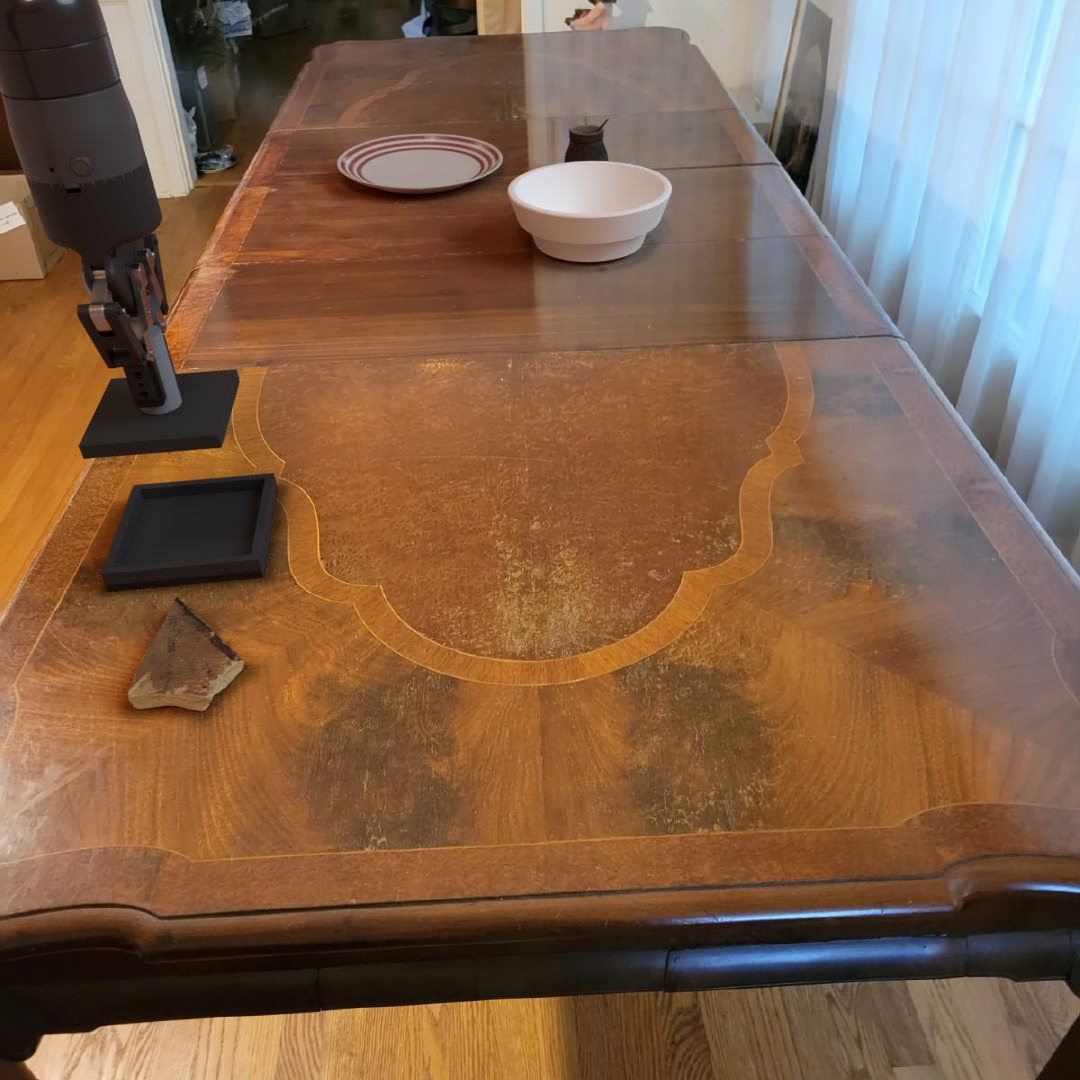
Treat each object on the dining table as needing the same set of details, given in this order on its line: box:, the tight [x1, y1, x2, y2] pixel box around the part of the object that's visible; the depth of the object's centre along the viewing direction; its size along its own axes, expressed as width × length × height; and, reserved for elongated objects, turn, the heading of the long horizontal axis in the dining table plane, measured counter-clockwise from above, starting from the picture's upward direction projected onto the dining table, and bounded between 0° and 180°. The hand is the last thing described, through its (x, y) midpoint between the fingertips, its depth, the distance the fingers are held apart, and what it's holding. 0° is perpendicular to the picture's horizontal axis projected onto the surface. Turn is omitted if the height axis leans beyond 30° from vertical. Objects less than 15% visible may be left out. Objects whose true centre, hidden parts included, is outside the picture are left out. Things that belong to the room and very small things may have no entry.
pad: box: [78, 325, 241, 460], centre depth 73 cm, size 10×10×7 cm
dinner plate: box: [336, 133, 504, 195], centre depth 164 cm, size 27×27×3 cm
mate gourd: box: [563, 118, 610, 163], centre depth 158 cm, size 7×8×10 cm
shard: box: [127, 596, 245, 712], centre depth 75 cm, size 11×8×2 cm
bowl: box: [507, 160, 673, 263], centre depth 136 cm, size 22×22×8 cm
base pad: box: [100, 472, 279, 592], centre depth 87 cm, size 13×13×2 cm
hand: (156, 392), depth 74 cm, fingers closed on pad, 3 cm apart
